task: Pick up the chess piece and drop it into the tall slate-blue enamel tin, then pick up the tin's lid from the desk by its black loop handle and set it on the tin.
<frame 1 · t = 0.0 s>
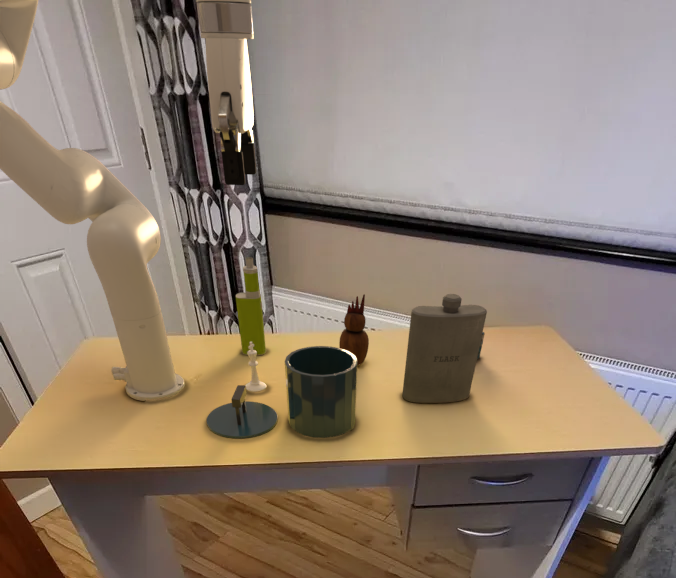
hand: (241, 179, 84), 37 cm above the table, tool pointing down, fingers open, 9 cm apart
pot: (321, 423, 103), on the table
flask: (435, 398, 112), on the table
chess piece: (256, 390, 113), on the table
puzzle: (463, 359, 125), on the table
wooden figurine: (353, 363, 123), on the table
vape: (254, 352, 127), on the table
lid: (242, 420, 103), point 1 cm above the table
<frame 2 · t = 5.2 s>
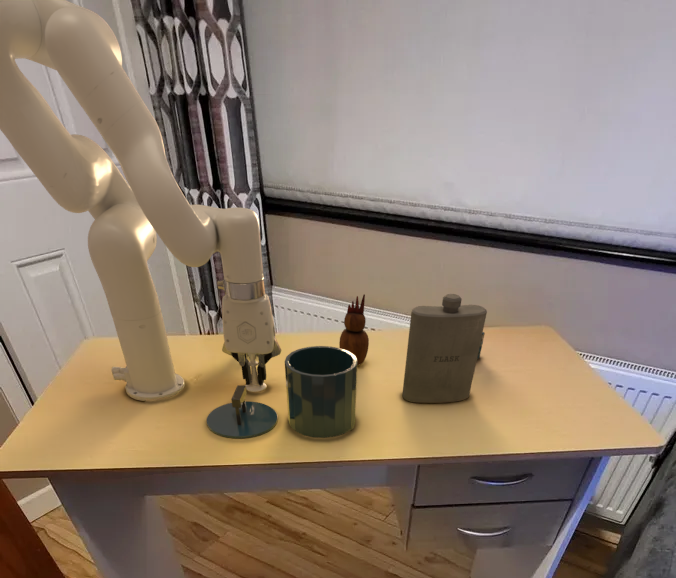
hand: (255, 381, 112), 2 cm above the table, tool pointing down, fingers closed on chess piece
chess piece: (256, 390, 113), on the table, touching gripper
everything else where it was.
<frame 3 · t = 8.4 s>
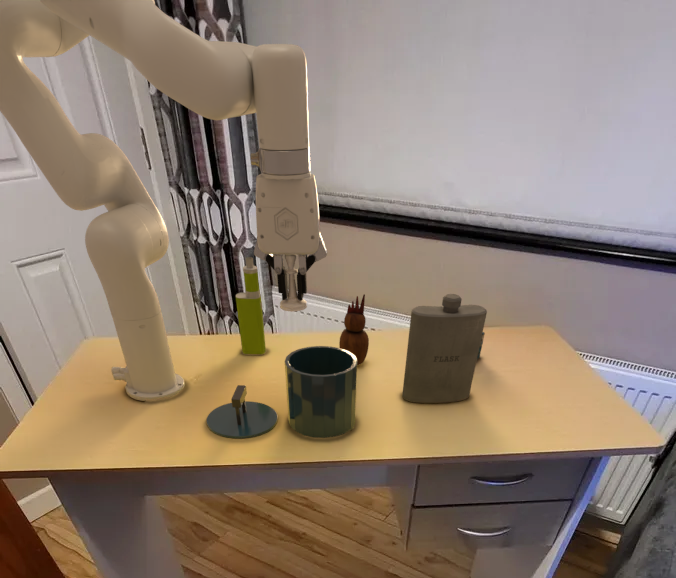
hand: (293, 296, 91), 21 cm above the table, tool pointing down, fingers closed on chess piece
chess piece: (293, 308, 92), point 20 cm above the table, touching gripper
everything else where it was.
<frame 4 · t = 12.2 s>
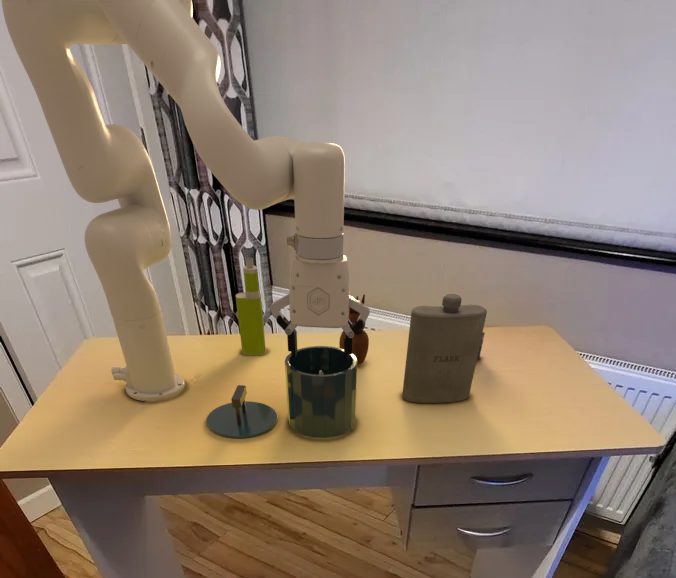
hand: (320, 356, 94), 13 cm above the table, tool pointing down, fingers open, 9 cm apart
chess piece: (321, 421, 103), resting on pot
everything else where it was.
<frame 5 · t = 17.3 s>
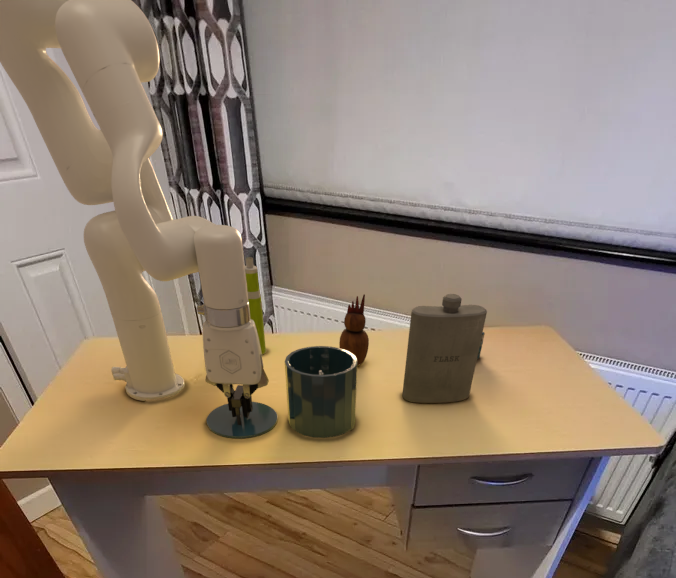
hand: (241, 413, 101), 2 cm above the table, tool pointing down, fingers closed on lid
lid: (242, 420, 103), point 1 cm above the table, touching gripper
everything else where it was.
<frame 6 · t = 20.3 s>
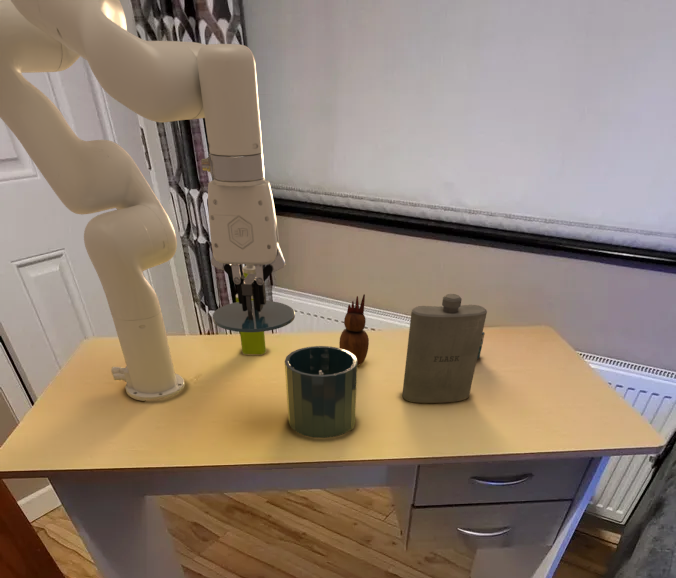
hand: (253, 307, 87), 21 cm above the table, tool pointing down, fingers closed on lid
lid: (254, 317, 88), point 20 cm above the table, touching gripper
everything else where it was.
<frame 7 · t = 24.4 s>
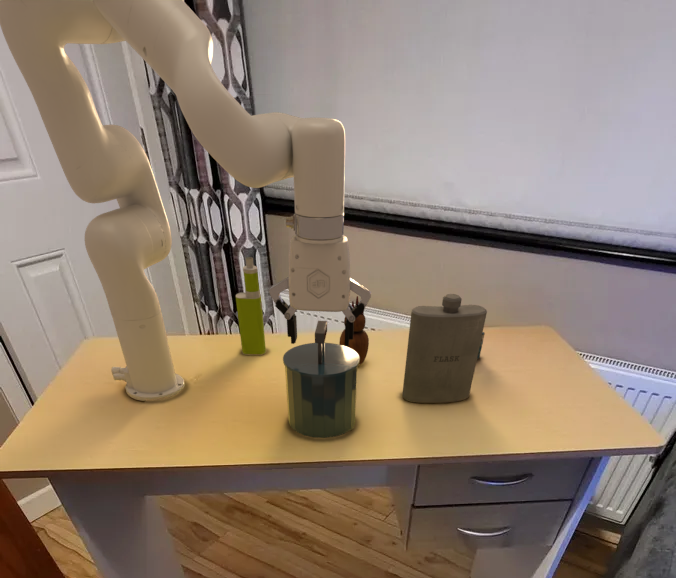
hand: (320, 342, 92), 16 cm above the table, tool pointing down, fingers open, 9 cm apart
lid: (321, 360, 94), point 12 cm above the table, touching pot
everything else where it was.
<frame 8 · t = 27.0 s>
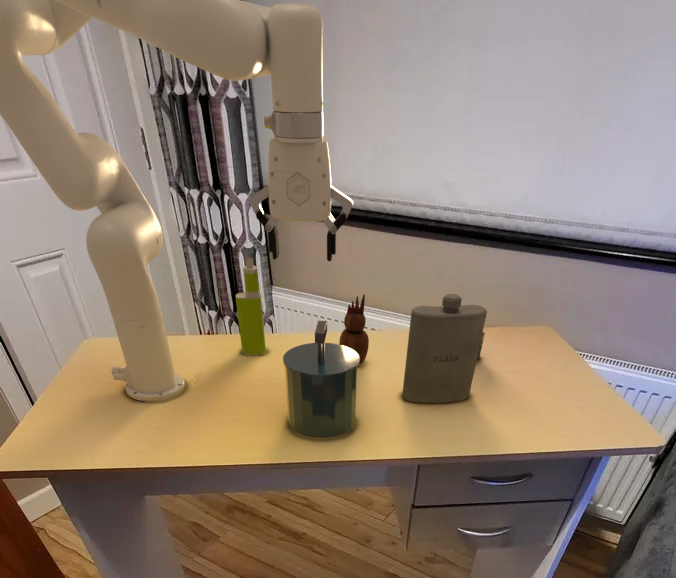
hand: (302, 258, 90), 26 cm above the table, tool pointing down, fingers open, 9 cm apart
nothing on the table moved.
at the end: chess piece inside the target area in the pot (0.2 cm from its centre), point 0.3 cm above the pot's base; lid 0.1 cm off-centre on the pot, point 12.5 cm above the pot's base; lid tilted 0° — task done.
